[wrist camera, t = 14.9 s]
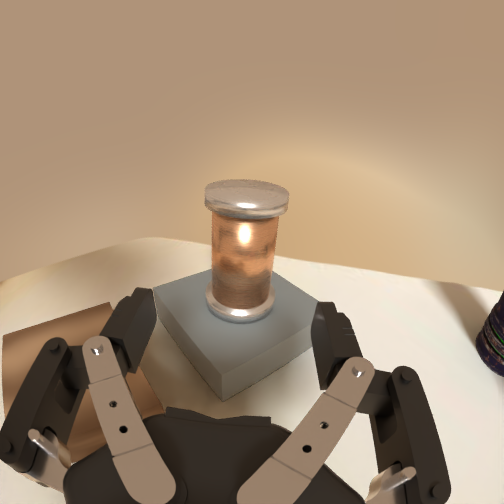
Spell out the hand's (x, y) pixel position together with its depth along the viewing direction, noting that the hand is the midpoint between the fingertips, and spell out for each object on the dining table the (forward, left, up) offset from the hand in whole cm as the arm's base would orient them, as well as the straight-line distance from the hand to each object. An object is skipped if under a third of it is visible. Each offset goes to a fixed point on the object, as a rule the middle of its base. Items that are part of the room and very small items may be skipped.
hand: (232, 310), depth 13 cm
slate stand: (-9, +7, -12) cm, 16 cm away
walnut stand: (-9, -11, -12) cm, 18 cm away
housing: (-8, +7, -8) cm, 14 cm away
